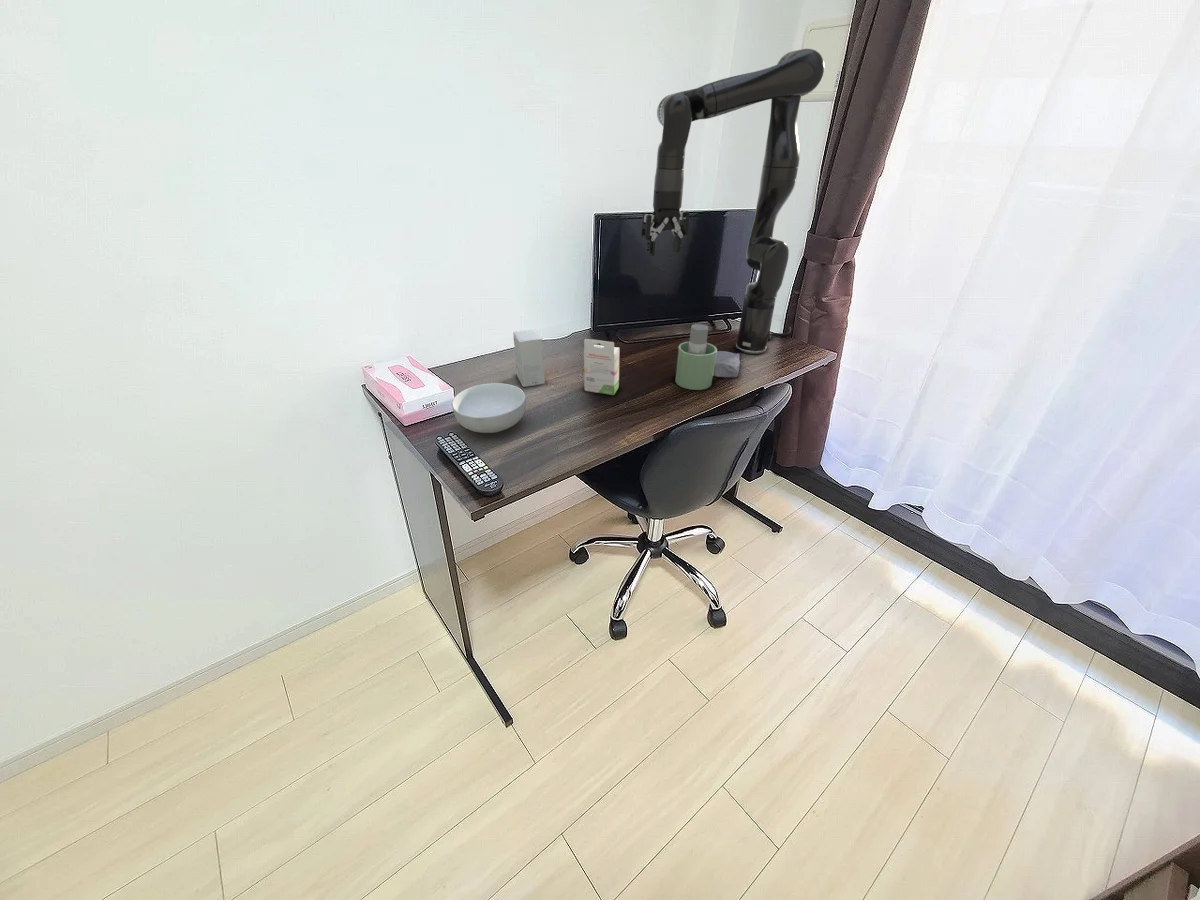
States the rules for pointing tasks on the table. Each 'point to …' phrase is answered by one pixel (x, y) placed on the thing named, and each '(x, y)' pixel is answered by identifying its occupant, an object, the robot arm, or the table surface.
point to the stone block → (726, 364)
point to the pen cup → (695, 367)
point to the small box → (529, 357)
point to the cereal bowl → (489, 407)
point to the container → (698, 339)
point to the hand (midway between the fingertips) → (663, 253)
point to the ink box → (601, 367)
